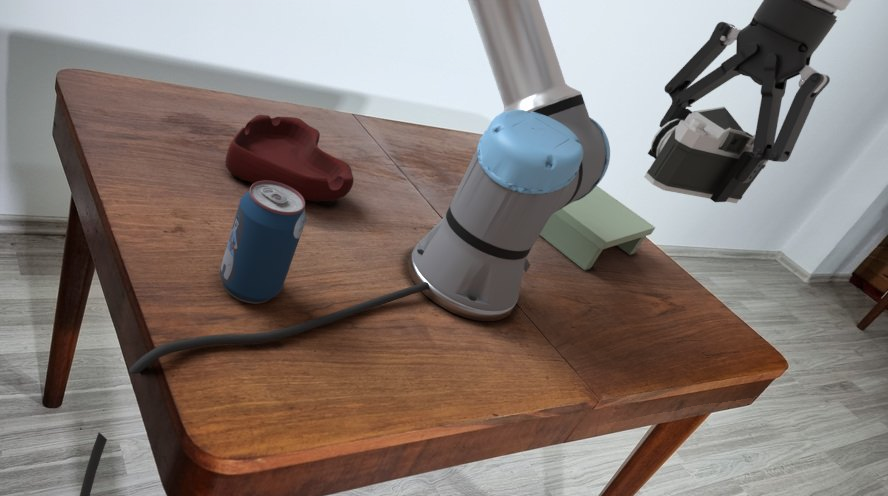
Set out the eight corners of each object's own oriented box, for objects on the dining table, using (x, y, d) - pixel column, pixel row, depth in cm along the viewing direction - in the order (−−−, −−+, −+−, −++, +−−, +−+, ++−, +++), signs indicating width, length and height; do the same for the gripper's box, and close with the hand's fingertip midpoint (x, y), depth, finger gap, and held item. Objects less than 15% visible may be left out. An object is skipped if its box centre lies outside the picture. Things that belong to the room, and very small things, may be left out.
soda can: (291, 293, 80) (324, 205, 73) (251, 316, 74) (282, 222, 68) (246, 260, 82) (273, 171, 75) (203, 280, 76) (229, 185, 70)
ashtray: (198, 139, 100) (205, 107, 97) (297, 145, 110) (307, 116, 107) (249, 213, 90) (259, 179, 87) (353, 211, 100) (365, 181, 97)
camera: (703, 172, 95) (749, 104, 89) (748, 208, 89) (800, 138, 83) (618, 154, 87) (663, 79, 82) (661, 192, 81) (713, 114, 76)
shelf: (586, 272, 111) (606, 242, 108) (522, 221, 118) (539, 191, 115) (636, 255, 124) (655, 227, 121) (575, 209, 131) (592, 182, 127)
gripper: (915, 50, 72) (772, 228, 84) (739, -34, 84) (637, 132, 96) (892, 40, 67) (744, 231, 79) (709, -47, 79) (605, 129, 91)
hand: (685, 177), depth 88 cm, fingers closed on camera, 9 cm apart
